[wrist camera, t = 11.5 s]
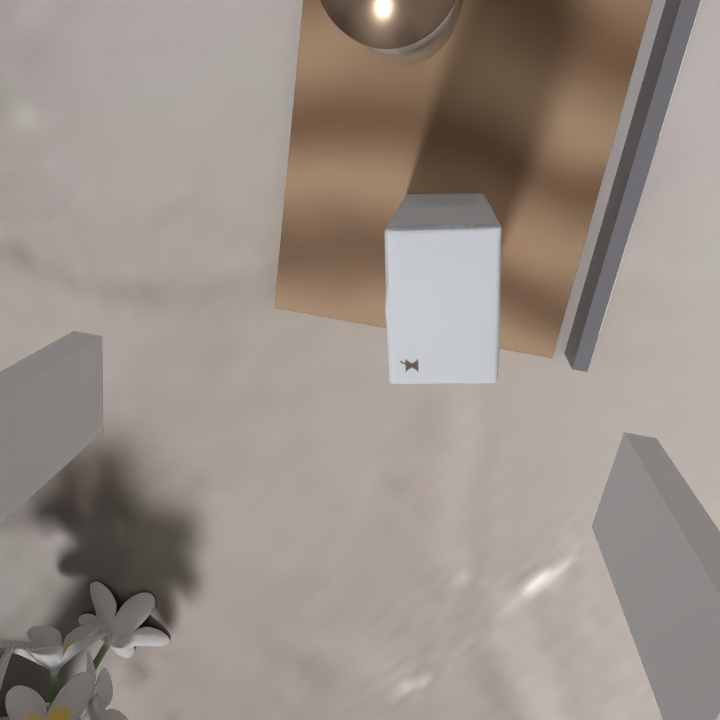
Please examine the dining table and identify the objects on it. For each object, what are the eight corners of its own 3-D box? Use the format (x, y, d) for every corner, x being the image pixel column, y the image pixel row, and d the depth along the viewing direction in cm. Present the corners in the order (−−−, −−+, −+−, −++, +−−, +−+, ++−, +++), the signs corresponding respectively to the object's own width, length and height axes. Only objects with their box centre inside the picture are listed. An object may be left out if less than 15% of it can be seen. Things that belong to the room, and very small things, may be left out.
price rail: (581, 356, 36) (589, 372, 33) (564, 353, 36) (572, 369, 33) (702, -49, 28) (723, -64, 26) (681, -52, 28) (700, -67, 26)
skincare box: (484, 302, 34) (499, 389, 23) (406, 302, 35) (384, 388, 24) (486, 187, 32) (505, 223, 21) (403, 190, 33) (379, 227, 21)
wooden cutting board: (549, 350, 36) (552, 358, 35) (279, 302, 37) (274, 307, 36) (661, -54, 28) (669, -61, 27) (318, -99, 29) (313, -107, 28)
